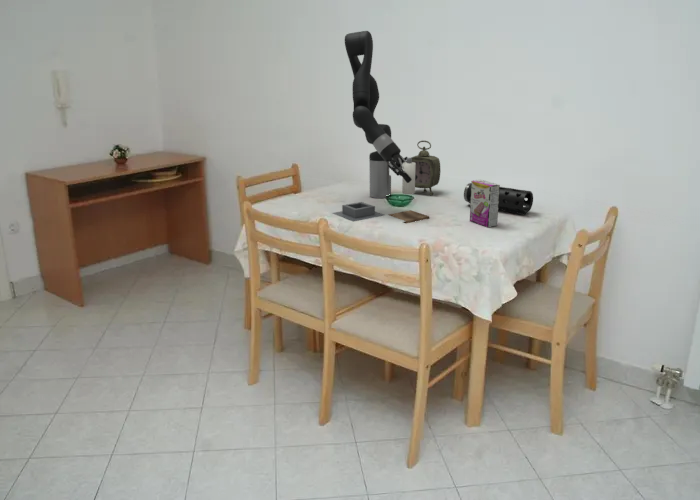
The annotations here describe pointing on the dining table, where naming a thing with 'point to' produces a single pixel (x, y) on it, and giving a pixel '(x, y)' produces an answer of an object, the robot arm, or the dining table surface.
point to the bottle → (410, 170)
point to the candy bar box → (484, 203)
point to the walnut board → (409, 216)
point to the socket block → (358, 211)
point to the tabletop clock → (426, 169)
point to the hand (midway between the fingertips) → (412, 180)
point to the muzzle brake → (508, 199)
